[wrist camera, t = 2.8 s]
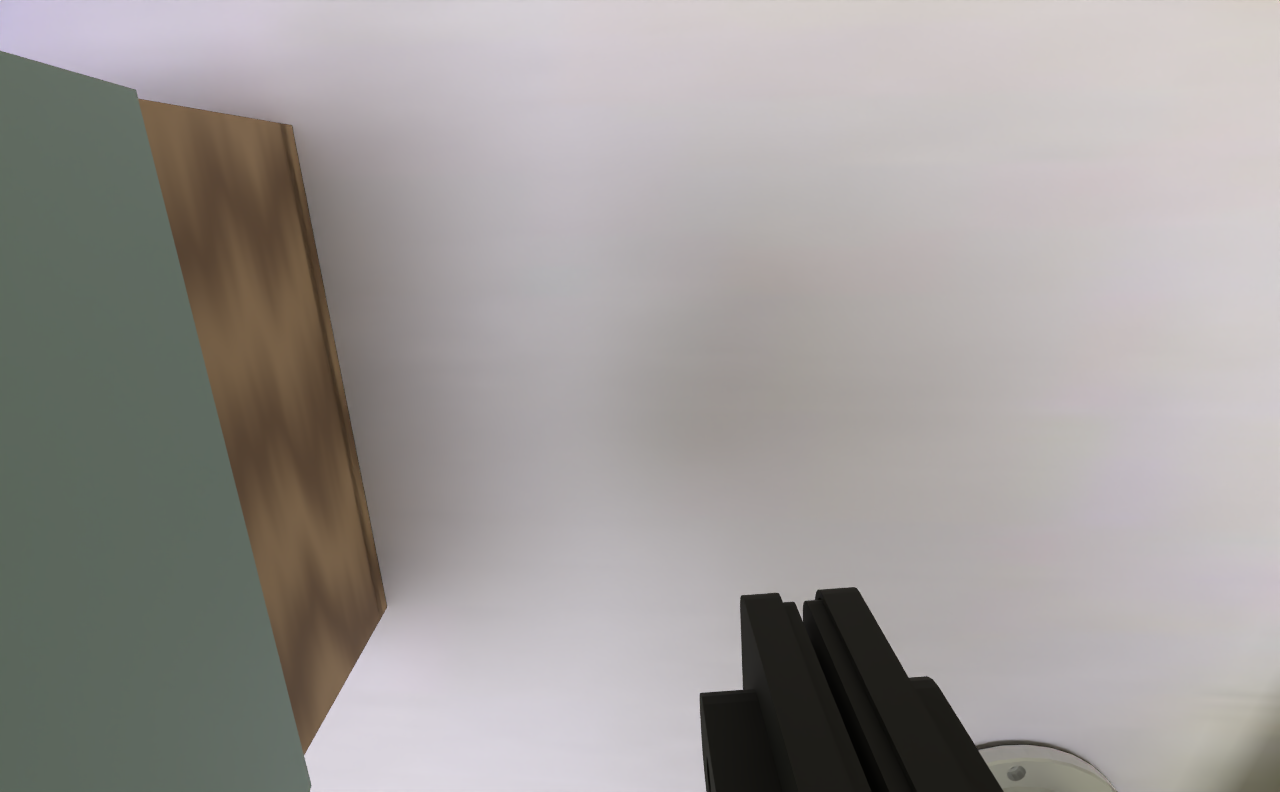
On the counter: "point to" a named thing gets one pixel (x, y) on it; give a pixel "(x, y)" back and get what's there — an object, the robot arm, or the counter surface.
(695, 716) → the counter surface
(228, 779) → the box lid
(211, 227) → the storage box
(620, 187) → the counter surface
